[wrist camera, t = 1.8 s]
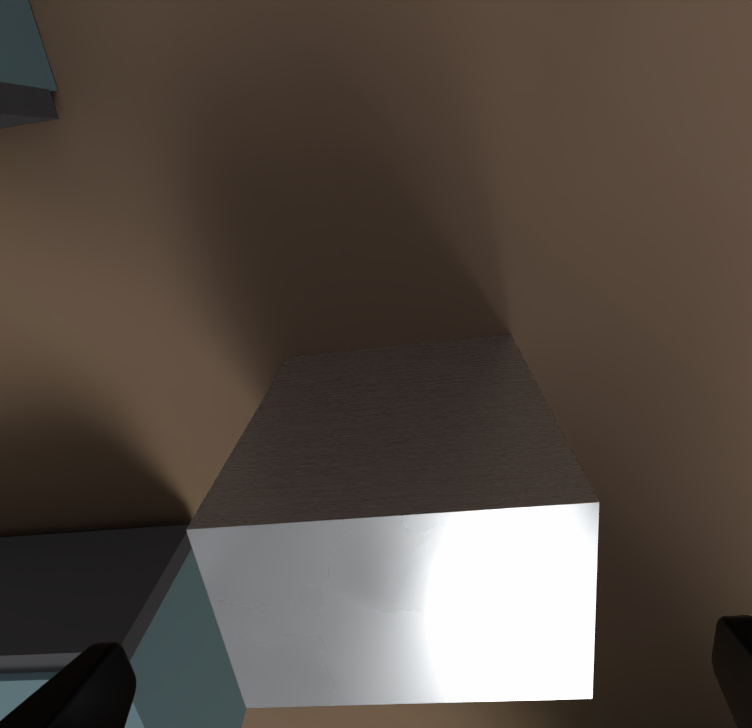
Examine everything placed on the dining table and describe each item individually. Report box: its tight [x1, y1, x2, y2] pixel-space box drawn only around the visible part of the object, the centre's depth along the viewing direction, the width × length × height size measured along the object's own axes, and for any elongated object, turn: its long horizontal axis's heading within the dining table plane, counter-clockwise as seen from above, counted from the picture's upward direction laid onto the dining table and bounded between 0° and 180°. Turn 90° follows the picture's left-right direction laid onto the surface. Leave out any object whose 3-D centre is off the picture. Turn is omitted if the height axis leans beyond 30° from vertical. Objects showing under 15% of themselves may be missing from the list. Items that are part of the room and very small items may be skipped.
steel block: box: [186, 334, 599, 708], centre depth 11 cm, size 6×4×7 cm, turn 98°
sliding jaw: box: [0, 524, 246, 728], centre depth 16 cm, size 12×8×5 cm, turn 98°
